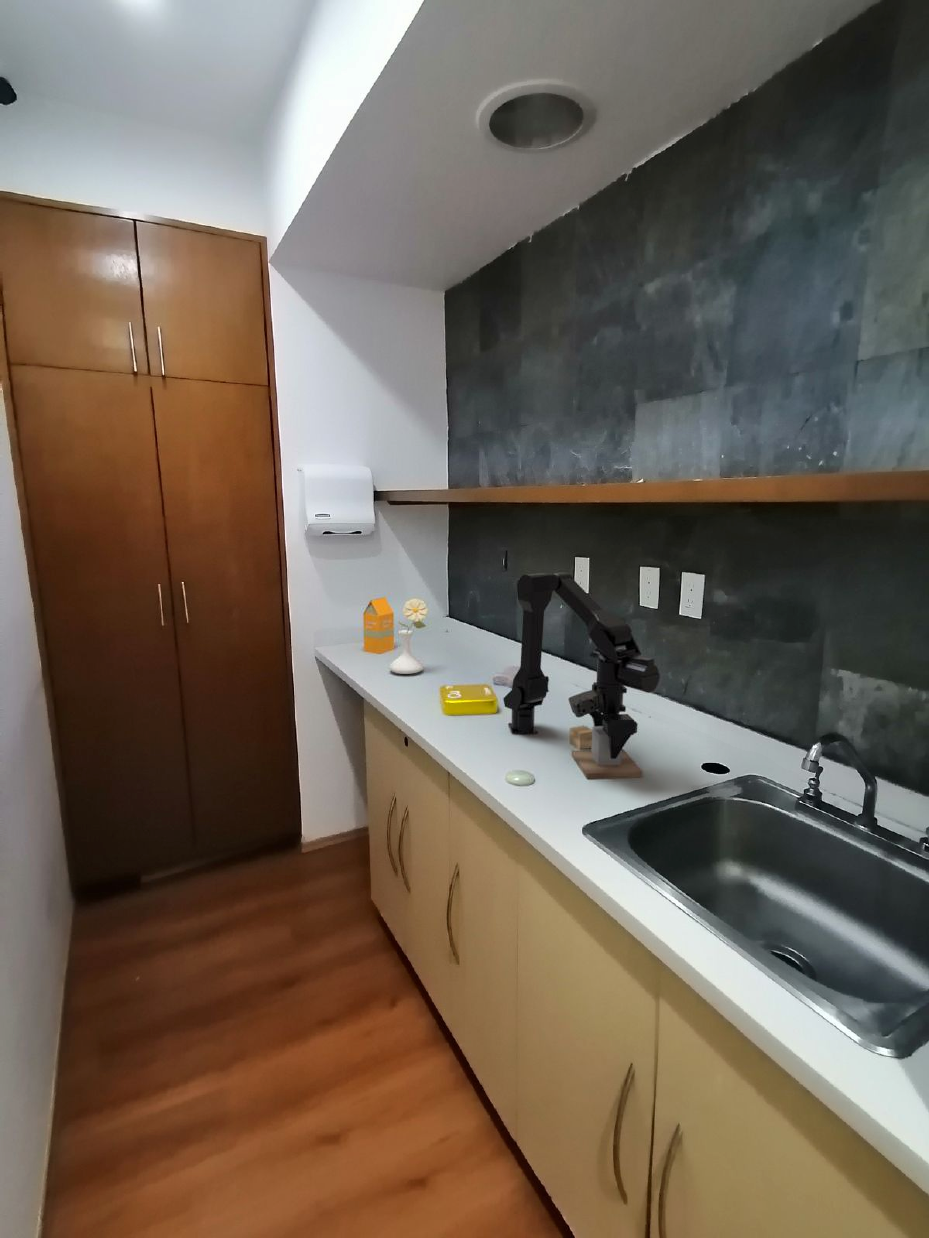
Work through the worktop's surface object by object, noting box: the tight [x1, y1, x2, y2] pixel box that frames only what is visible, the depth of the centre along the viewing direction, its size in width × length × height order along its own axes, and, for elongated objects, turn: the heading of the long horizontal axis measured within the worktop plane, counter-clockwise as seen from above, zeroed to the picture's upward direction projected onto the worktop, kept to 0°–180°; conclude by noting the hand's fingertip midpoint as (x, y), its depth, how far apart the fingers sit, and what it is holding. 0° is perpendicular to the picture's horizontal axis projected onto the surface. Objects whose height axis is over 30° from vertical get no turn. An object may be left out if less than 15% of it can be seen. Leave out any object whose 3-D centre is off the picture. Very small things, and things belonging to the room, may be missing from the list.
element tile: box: [438, 683, 498, 716], centre depth 175 cm, size 15×15×5 cm
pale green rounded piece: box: [504, 769, 535, 787], centre depth 130 cm, size 6×6×1 cm
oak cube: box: [568, 724, 592, 750], centre depth 148 cm, size 4×4×4 cm
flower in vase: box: [388, 597, 429, 675], centre depth 206 cm, size 13×11×25 cm
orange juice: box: [362, 597, 395, 655], centre depth 236 cm, size 8×9×20 cm
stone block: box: [492, 665, 520, 689], centre depth 198 cm, size 12×5×10 cm
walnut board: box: [571, 748, 644, 780], centre depth 136 cm, size 12×12×1 cm
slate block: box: [590, 725, 622, 766], centre depth 136 cm, size 5×5×7 cm
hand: (606, 749), depth 136 cm, fingers open, 9 cm apart
